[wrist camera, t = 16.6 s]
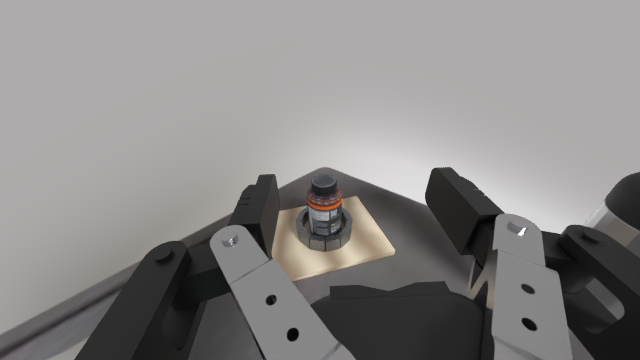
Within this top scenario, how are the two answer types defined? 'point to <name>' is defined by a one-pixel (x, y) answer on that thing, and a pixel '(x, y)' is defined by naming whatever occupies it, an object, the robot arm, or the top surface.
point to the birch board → (308, 263)
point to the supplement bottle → (324, 206)
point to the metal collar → (324, 242)
